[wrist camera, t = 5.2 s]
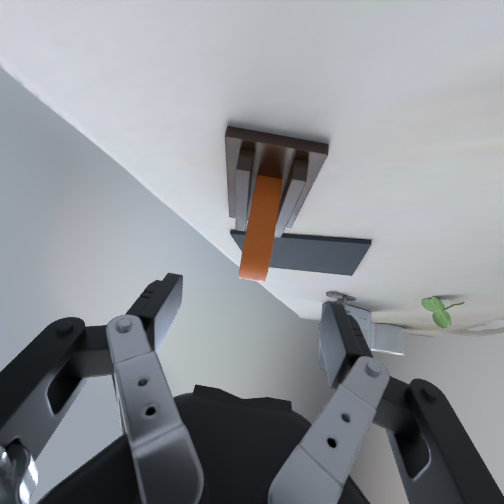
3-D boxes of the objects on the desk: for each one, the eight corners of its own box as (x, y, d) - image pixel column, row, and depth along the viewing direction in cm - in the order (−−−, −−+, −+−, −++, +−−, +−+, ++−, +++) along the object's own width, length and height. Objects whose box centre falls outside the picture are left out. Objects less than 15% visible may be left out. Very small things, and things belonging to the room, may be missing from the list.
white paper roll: (361, 321, 111) (360, 347, 107) (403, 325, 103) (403, 354, 99) (367, 326, 123) (366, 349, 120) (404, 330, 115) (405, 356, 111)
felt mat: (371, 240, 34) (371, 244, 34) (352, 272, 49) (352, 275, 49) (230, 230, 39) (229, 233, 39) (251, 262, 54) (250, 265, 54)
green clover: (445, 279, 58) (419, 290, 58) (480, 297, 51) (450, 310, 51) (446, 303, 61) (421, 314, 61) (480, 324, 54) (451, 336, 53)
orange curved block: (256, 174, 23) (239, 268, 20) (282, 178, 23) (268, 273, 20) (252, 206, 29) (238, 283, 26) (273, 209, 29) (261, 287, 26)
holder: (227, 125, 20) (219, 157, 19) (329, 144, 20) (326, 176, 19) (230, 210, 33) (226, 231, 32) (291, 221, 33) (288, 242, 32)
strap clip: (325, 292, 69) (323, 308, 68) (333, 291, 66) (332, 307, 65) (348, 298, 72) (347, 314, 71) (357, 298, 70) (356, 314, 68)
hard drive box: (321, 302, 85) (316, 368, 78) (339, 302, 78) (336, 373, 72) (353, 312, 91) (351, 372, 85) (372, 312, 85) (371, 377, 78)
